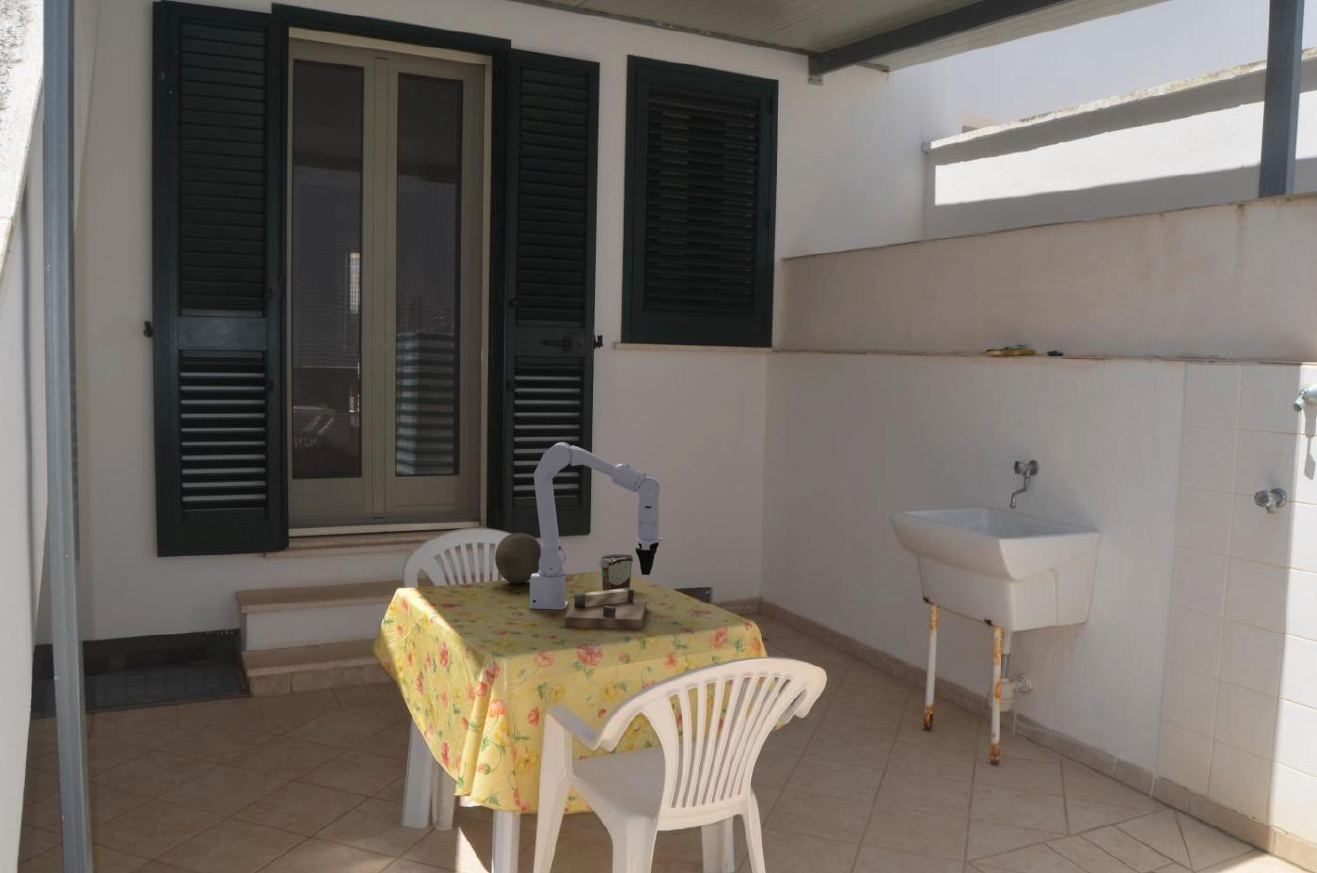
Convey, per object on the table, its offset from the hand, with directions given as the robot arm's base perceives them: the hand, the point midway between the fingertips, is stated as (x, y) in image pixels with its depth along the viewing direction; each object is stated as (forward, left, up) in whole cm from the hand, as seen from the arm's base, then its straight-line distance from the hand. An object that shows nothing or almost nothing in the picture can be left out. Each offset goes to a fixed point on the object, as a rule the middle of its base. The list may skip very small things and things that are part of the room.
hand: (646, 571), depth 285 cm
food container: (-11, +20, -10) cm, 25 cm away
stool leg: (-11, -7, -7) cm, 15 cm away
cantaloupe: (-39, +25, -10) cm, 48 cm away
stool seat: (-9, -11, -10) cm, 18 cm away
